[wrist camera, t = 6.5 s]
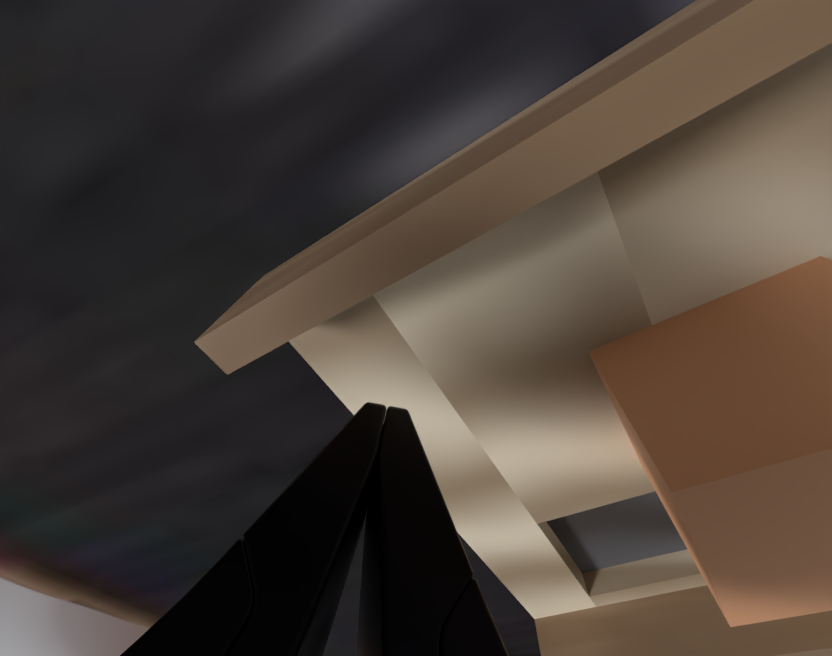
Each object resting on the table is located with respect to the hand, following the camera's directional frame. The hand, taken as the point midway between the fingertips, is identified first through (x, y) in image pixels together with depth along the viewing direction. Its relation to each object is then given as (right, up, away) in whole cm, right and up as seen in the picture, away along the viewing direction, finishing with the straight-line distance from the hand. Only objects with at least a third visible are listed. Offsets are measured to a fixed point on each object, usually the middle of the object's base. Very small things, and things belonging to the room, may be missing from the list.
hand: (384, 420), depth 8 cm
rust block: (+9, 0, +3) cm, 10 cm away
